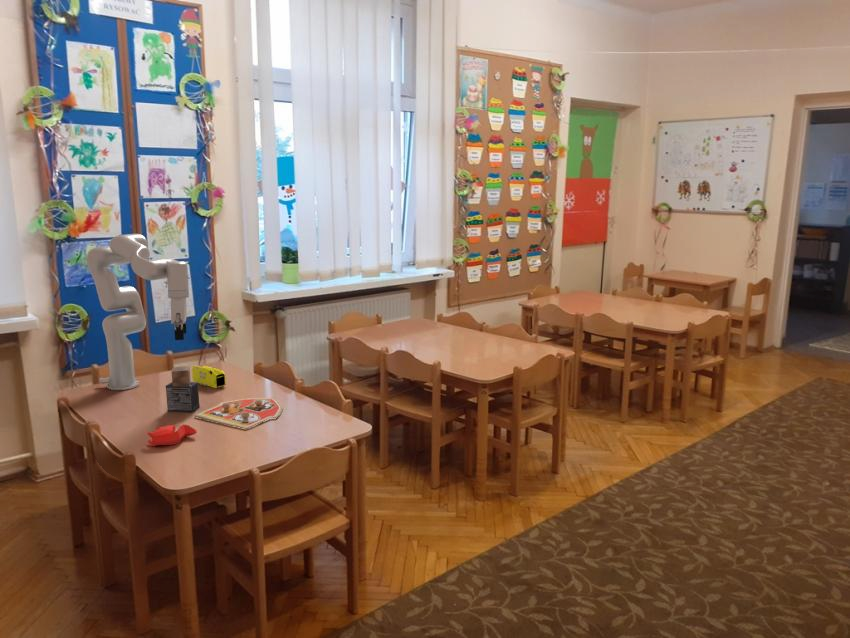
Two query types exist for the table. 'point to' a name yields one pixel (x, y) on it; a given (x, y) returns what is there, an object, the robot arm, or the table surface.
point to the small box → (182, 397)
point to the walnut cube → (181, 376)
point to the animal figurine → (170, 435)
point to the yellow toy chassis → (208, 376)
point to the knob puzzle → (243, 412)
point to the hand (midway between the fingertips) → (180, 336)
